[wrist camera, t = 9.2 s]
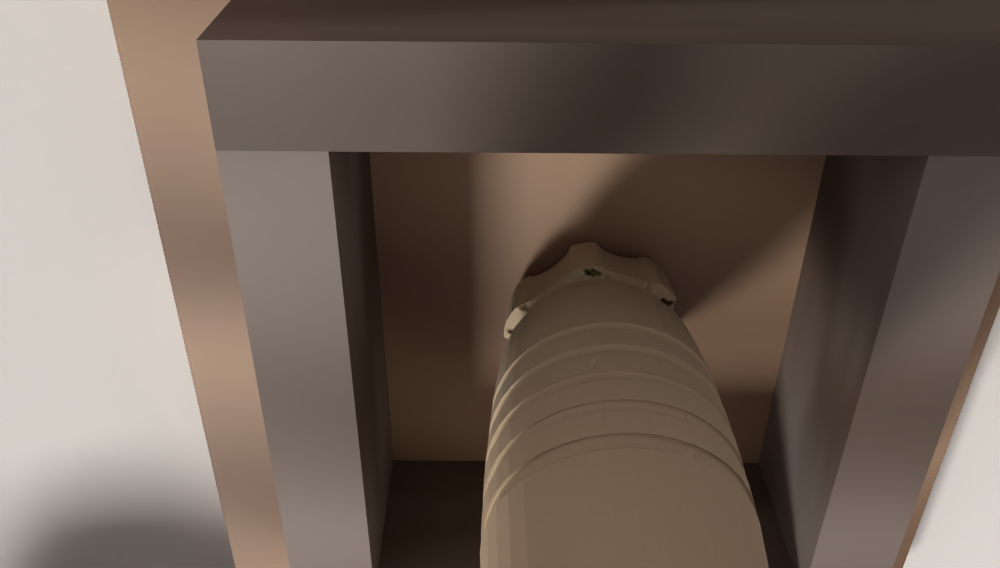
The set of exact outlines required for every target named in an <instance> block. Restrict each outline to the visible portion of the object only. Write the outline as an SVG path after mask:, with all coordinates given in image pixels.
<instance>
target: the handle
mask: <svg viewBox="0 0 1000 568" xmlns="http://www.w3.org/2000/svg"><path fill="white" fill-rule="evenodd" d="M675 302H676V296H675V294H674V291H673V289H672V287H671V284H670V282H669V280H668V279H667V277H666V275H665V274H664V272H663V271H662V269H661V268H660V267H659V266H658V265H657V264H656V263H655V262H653V261H652V260H651V259H650V258H646V257H642V256H641V257H638V258H626V257H621V256H616V255H614V254H611V253H609V252H606V251H605V250H603V249H601V248H600V246H599V245H598V244H597V243H595V242H586V243H579V244H574V245H572V246H571V247H570V248H569V251H568V253H567V254H566V255H565V257H564V258H563V259H562V260H561V261H559V262H558V263H557V264H556V265H555V266H553V267H552V268H550V269H548V270H547V271H545V272H543V273H541V274H539V275H536V276H528V277H526V278H524V279H522V280H521V281H520V282H519V283H518V284H517V286H516V288H515V290H514V292H513V294H512V297H511V300H510V303H509V306H508V310H507V315H506V321H505V326H504V337H505V338H507V339H508V341H507V344H506V347H505V350H504V353H503V357H502V361H501V364H500V368H499V372H498V376H497V382H496V387H495V393H494V398H493V405H492V413H491V421H490V430H489V438H488V446H487V455H486V464H485V476H484V489H483V510H482V524H481V547H480V568H769V566H768V561H767V556H766V551H765V546H764V541H763V536H762V531H761V526H760V522H759V519H758V516H757V513H756V509H755V504H754V500H753V497H752V493H751V490H750V486H749V483H748V480H747V478H746V474H745V469H744V466H743V463H742V459H741V456H740V452H739V449H738V447H737V444H736V440H735V437H734V434H733V431H732V428H731V425H730V423H729V420H728V417H727V415H726V412H725V409H724V407H723V404H722V402H721V399H720V396H719V394H718V391H717V388H716V386H715V383H714V381H713V378H712V376H711V373H710V371H709V369H708V367H707V365H706V363H705V360H704V358H703V356H702V354H701V352H700V350H699V348H698V346H697V345H696V343H695V341H694V339H693V338H692V336H691V334H690V332H689V331H688V329H687V328H686V326H685V325H684V323H683V322H682V320H681V319H680V318H679V316H678V315H677V314H676V313H675V312H674V303H675Z"/></svg>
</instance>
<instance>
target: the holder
mask: <svg viewBox="0 0 1000 568" xmlns="http://www.w3.org/2000/svg"><path fill="white" fill-rule="evenodd" d="M107 4H108V8H109V12H110V17H111V21H112V26H113V30H114V34H115V39H116V43H117V48H118V52H119V57H120V61H121V65H122V70H123V74H124V79H125V83H126V87H127V92H128V96H129V101H130V105H131V109H132V114H133V118H134V123H135V127H136V131H137V136H138V140H139V145H140V149H141V154H142V158H143V162H144V167H145V171H146V176H147V180H148V184H149V189H150V193H151V198H152V202H153V206H154V211H155V215H156V220H157V224H158V229H159V233H160V237H161V242H162V246H163V251H164V255H165V259H166V264H167V268H168V273H169V277H170V281H171V286H172V290H173V295H174V299H175V303H176V308H177V312H178V317H179V321H180V326H181V330H182V334H183V339H184V343H185V348H186V352H187V356H188V361H189V365H190V370H191V374H192V378H193V383H194V387H195V392H196V396H197V401H198V405H199V409H200V414H201V418H202V423H203V427H204V431H205V436H206V440H207V445H208V449H209V453H210V458H211V462H212V467H213V471H214V475H215V480H216V484H217V489H218V493H219V498H220V502H221V506H222V511H223V515H224V520H225V524H226V528H227V533H228V537H229V542H230V546H231V550H232V555H233V559H234V564H235V568H480V547H481V524H482V510H483V489H484V476H485V464H486V455H487V446H488V438H489V430H490V421H491V413H492V405H493V398H494V393H495V387H496V382H497V376H498V372H499V368H500V364H501V361H502V357H503V353H504V350H505V347H506V344H507V341H508V339H507V338H505V337H504V326H505V321H506V315H507V310H508V306H509V303H510V300H511V297H512V294H513V292H514V290H515V288H516V286H517V284H518V283H519V282H520V281H521V280H522V279H524V278H526V277H528V276H536V275H539V274H541V273H543V272H545V271H547V270H548V269H550V268H552V267H553V266H555V265H556V264H557V263H558V262H559V261H561V260H562V259H563V258H564V257H565V255H566V254H567V253H568V251H569V248H570V247H571V246H572V245H574V244H579V243H586V242H595V243H597V244H598V245H599V246H600V248H601V249H603V250H605V251H606V252H609V253H611V254H614V255H616V256H621V257H626V258H638V257H641V256H642V257H646V258H650V259H651V260H652V261H653V262H655V263H656V264H657V265H658V266H659V267H660V268H661V269H662V271H663V272H664V274H665V275H666V277H667V279H668V280H669V282H670V284H671V287H672V289H673V291H674V294H675V296H676V302H675V303H674V312H675V313H676V314H677V315H678V316H679V318H680V319H681V320H682V322H683V323H684V325H685V326H686V328H687V329H688V331H689V332H690V334H691V336H692V338H693V339H694V341H695V343H696V345H697V346H698V348H699V350H700V352H701V354H702V356H703V358H704V360H705V363H706V365H707V367H708V369H709V371H710V373H711V376H712V378H713V381H714V383H715V386H716V388H717V391H718V394H719V396H720V399H721V402H722V404H723V407H724V409H725V412H726V415H727V417H728V420H729V423H730V425H731V428H732V431H733V434H734V437H735V440H736V444H737V447H738V449H739V452H740V456H741V459H742V463H743V466H744V469H745V474H746V478H747V480H748V483H749V486H750V490H751V493H752V497H753V500H754V504H755V509H756V513H757V516H758V519H759V522H760V526H761V531H762V536H763V541H764V546H765V551H766V556H767V561H768V566H769V568H903V565H904V563H905V560H906V557H907V555H908V552H909V549H910V547H911V544H912V541H913V538H914V536H915V533H916V530H917V528H918V525H919V522H920V519H921V517H922V514H923V511H924V509H925V506H926V503H927V501H928V498H929V495H930V492H931V490H932V487H933V484H934V482H935V479H936V476H937V474H938V471H939V468H940V465H941V463H942V460H943V457H944V455H945V452H946V449H947V446H948V444H949V441H950V438H951V436H952V433H953V430H954V428H955V425H956V422H957V419H958V417H959V414H960V411H961V409H962V406H963V403H964V401H965V398H966V395H967V392H968V390H969V387H970V384H971V382H972V379H973V376H974V373H975V371H976V368H977V365H978V363H979V360H980V357H981V355H982V352H983V349H984V346H985V344H986V341H987V338H988V336H989V333H990V330H991V328H992V325H993V322H994V319H995V317H996V314H997V311H998V309H999V306H1000V0H107Z"/></svg>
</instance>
